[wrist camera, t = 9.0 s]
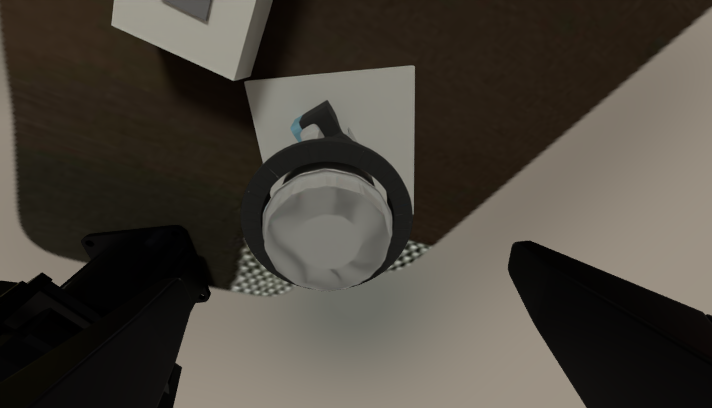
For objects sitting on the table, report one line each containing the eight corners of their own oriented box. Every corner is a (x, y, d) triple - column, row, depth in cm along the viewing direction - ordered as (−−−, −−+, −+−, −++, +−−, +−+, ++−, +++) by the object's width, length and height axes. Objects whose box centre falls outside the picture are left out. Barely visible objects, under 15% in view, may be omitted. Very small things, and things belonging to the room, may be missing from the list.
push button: (400, 179, 19) (463, 294, 10) (327, 218, 19) (323, 356, 11) (347, 78, 16) (365, 110, 7) (265, 129, 17) (186, 216, 8)
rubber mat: (280, 222, 20) (278, 228, 20) (247, 80, 16) (243, 81, 15) (410, 208, 20) (413, 214, 20) (411, 65, 16) (414, 65, 16)
